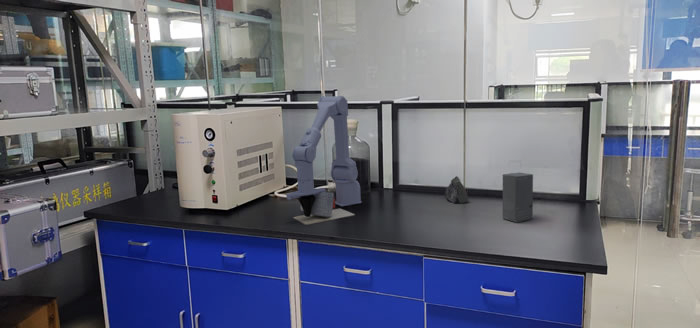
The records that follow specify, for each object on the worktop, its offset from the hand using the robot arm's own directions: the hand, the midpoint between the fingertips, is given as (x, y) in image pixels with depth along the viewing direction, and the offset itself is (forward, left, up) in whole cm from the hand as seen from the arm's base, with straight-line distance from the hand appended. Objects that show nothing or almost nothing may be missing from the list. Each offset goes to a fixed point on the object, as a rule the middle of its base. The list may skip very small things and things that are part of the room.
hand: (307, 216), depth 178 cm
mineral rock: (-61, +11, -2) cm, 62 cm away
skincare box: (-59, +44, -2) cm, 73 cm away
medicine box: (-4, +1, -1) cm, 4 cm away
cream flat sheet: (-7, 0, -1) cm, 7 cm away
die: (-14, -10, -1) cm, 17 cm away
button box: (-8, -10, -1) cm, 13 cm away
